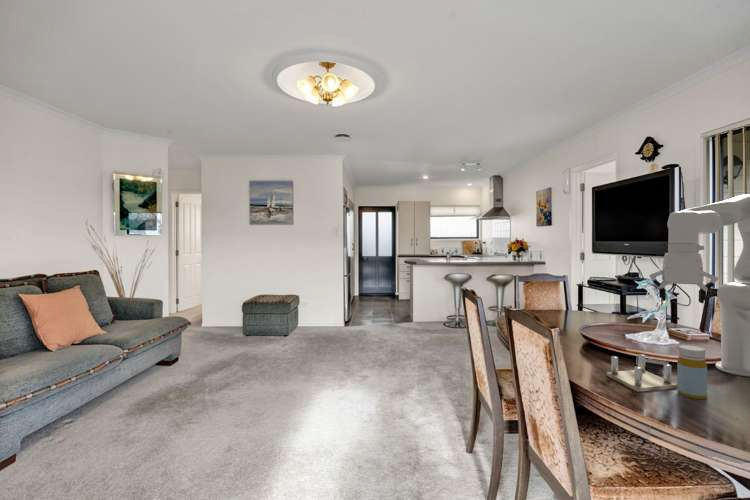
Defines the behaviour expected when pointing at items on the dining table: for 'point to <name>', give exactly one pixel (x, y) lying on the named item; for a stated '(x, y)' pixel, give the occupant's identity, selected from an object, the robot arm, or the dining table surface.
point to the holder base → (648, 381)
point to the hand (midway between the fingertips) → (681, 301)
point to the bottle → (692, 372)
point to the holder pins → (641, 370)
